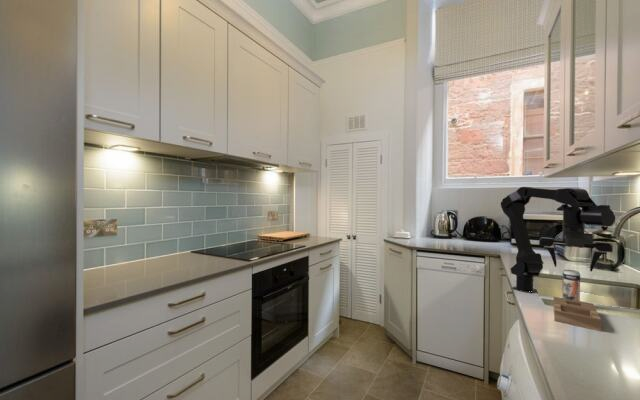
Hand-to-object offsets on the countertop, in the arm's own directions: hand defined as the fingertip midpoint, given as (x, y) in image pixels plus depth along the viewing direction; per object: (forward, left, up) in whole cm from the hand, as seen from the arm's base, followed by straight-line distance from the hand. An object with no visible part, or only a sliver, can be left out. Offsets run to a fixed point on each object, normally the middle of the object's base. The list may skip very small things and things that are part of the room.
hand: (572, 268), depth 99 cm
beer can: (-1, -1, -13) cm, 13 cm away
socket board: (+12, +4, -13) cm, 18 cm away
